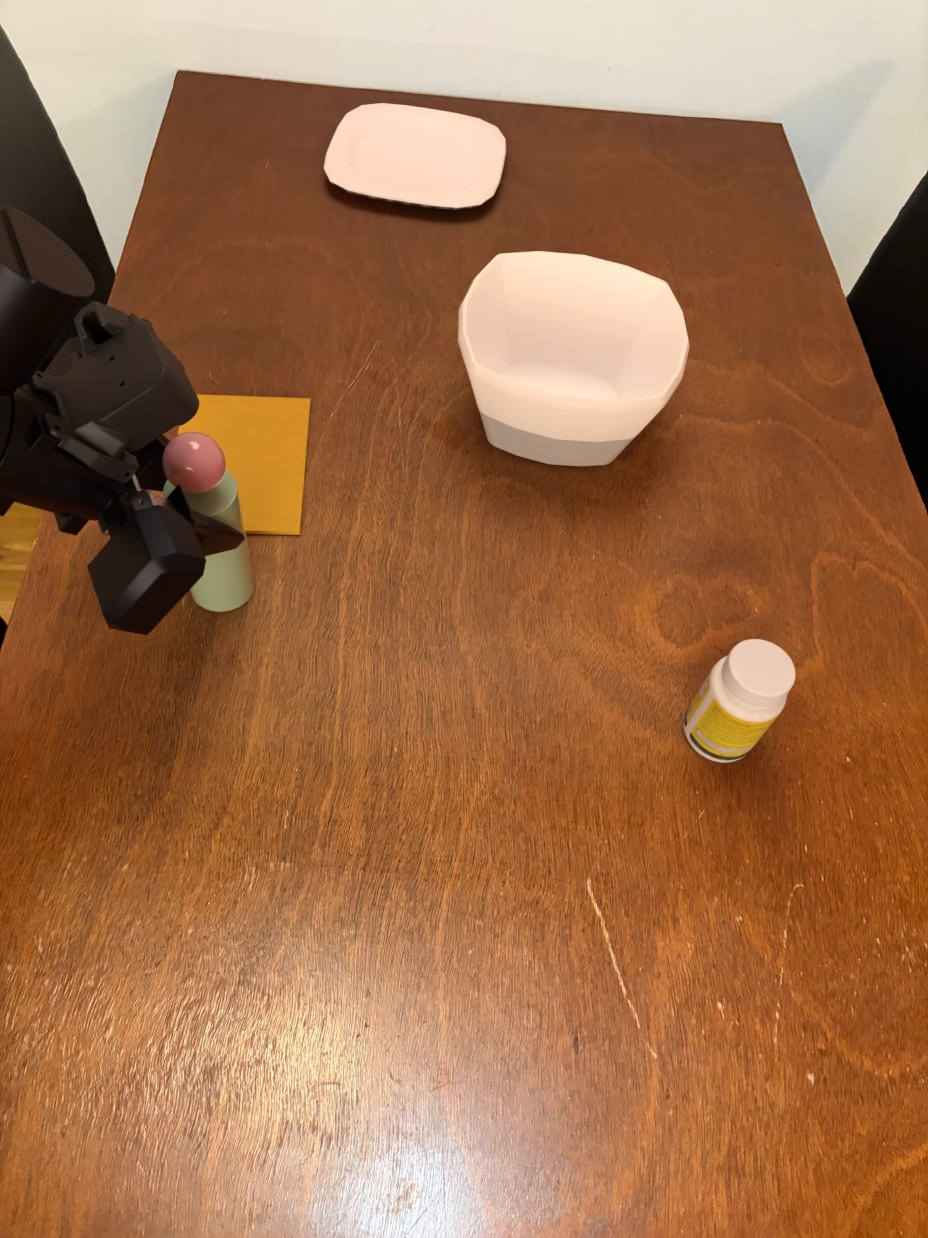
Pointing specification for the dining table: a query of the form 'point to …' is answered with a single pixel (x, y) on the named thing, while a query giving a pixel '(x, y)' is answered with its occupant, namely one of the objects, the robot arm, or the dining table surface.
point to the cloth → (260, 454)
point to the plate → (416, 156)
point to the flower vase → (211, 516)
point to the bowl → (569, 354)
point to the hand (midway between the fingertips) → (228, 514)
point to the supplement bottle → (739, 700)
